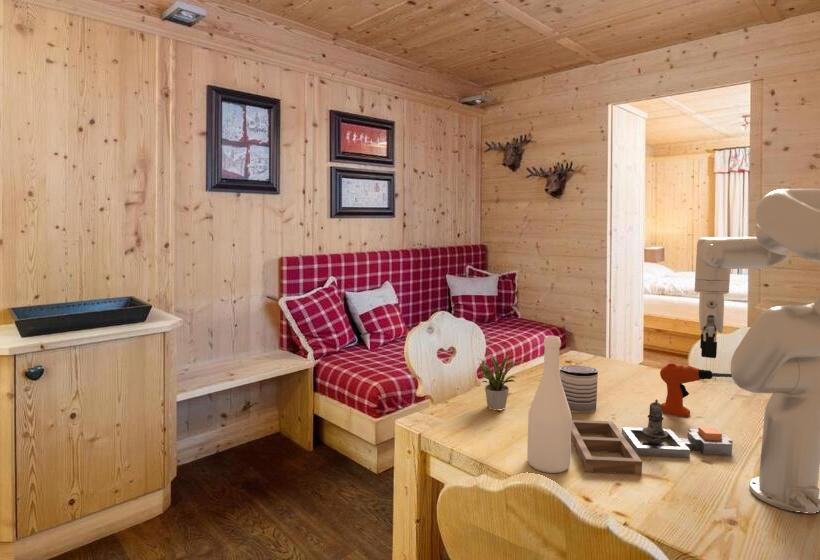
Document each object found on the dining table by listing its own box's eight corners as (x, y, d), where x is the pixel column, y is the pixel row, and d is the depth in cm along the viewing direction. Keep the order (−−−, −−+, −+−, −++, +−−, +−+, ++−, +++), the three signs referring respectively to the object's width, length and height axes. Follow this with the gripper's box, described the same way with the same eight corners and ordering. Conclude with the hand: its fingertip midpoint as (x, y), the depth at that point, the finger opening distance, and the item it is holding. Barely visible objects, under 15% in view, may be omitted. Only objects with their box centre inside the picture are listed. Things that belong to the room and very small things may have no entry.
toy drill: (736, 421, 139) (731, 367, 138) (659, 415, 150) (655, 365, 149) (736, 416, 143) (732, 362, 142) (662, 410, 154) (657, 361, 153)
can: (556, 410, 152) (557, 370, 150) (558, 397, 162) (559, 360, 161) (597, 415, 148) (599, 374, 147) (596, 401, 159) (598, 363, 157)
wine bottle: (562, 454, 124) (566, 332, 120) (576, 474, 114) (581, 341, 110) (522, 455, 123) (525, 332, 120) (533, 475, 114) (537, 342, 110)
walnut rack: (641, 474, 114) (642, 461, 114) (585, 471, 115) (586, 459, 115) (612, 432, 136) (612, 421, 136) (565, 430, 137) (566, 419, 137)
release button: (721, 444, 125) (722, 433, 124) (704, 443, 125) (705, 433, 125) (713, 437, 128) (714, 427, 128) (697, 437, 129) (698, 426, 128)
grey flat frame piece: (739, 459, 121) (740, 447, 120) (637, 455, 123) (637, 443, 123) (715, 438, 132) (715, 426, 132) (621, 434, 135) (622, 423, 134)
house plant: (522, 399, 161) (523, 348, 159) (527, 416, 147) (529, 360, 145) (475, 398, 162) (476, 347, 160) (477, 414, 148) (478, 359, 146)
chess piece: (644, 438, 132) (647, 393, 131) (669, 445, 129) (672, 398, 127) (638, 446, 128) (640, 399, 126) (663, 453, 124) (666, 405, 123)
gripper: (732, 291, 120) (727, 362, 122) (726, 283, 136) (722, 347, 137) (695, 289, 124) (691, 359, 126) (694, 282, 139) (690, 344, 141)
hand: (707, 353), depth 132 cm, fingers open, 9 cm apart
